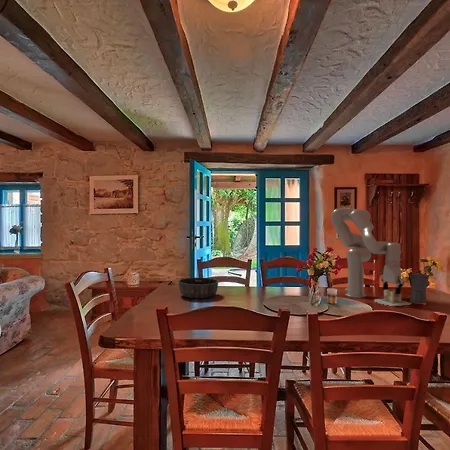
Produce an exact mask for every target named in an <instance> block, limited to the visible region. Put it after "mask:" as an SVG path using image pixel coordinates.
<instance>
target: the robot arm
mask: <svg viewBox="0 0 450 450" xmlns="http://www.w3.org/2000/svg"><path fill="white" fill-rule="evenodd" d="M370 220H371V213H370V212H369V211H368V210H367V209H361V208H360V209H358V208H348V207H347V208H345V207H337V208H335V209H334V210H333V211H332V212H331V214H330V222H331V224H332V227H333V228H334V230H335V232H336V234H337V236H338V237H339V239H340V242H341V243H342V245H343V246H344V247H345V248H349V249H348V251H347V252H346V262H347V287H346V288H345V289H344V290H345V291H346V293H345V294H344V295H345V296H346V297H350V298H355V299H356V298H357V299H361V298H362V299H363V298H366V297H367V295H366V294H365V293H364V272H365V270H364V265H363V262H368V261H369V260H370V259H371V258H372V254H374V255H380V254H381V255H385V261H384V262H385V264H384V266H383V272H382V274H381V275H380V279H381V283H382V286H383V287H382V290H383V291H384V290H389V283H390V284H394V285H395V290H396V294H401V295H402V287H403V286H404V285H405V282H406V281H405V280H404V279H403V278H402V269H401V268H402V267H401V249H402V248H401V243H399V242H389V241H380V240H379V241H377V240H376V238H375V237H374V235H373V233H372V231H373V230H374V229H375V226H374V225H373V222H371V221H370ZM345 221H348V222H352V223H353V225H355V227H356V228H357V229H358V230H359V232H360V233H361V234H359V233H357V232H356V233H353V232H352V230H351V229H350V226H349V225H348V224H347V223H346V222H345Z"/></svg>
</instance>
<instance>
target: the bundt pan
mask: <svg viewBox="0 0 450 450" xmlns="http://www.w3.org/2000/svg"><path fill="white" fill-rule="evenodd" d="M219 283H220V281H219V280H218V279H215V278H210V277H202V276H201V277H200V276H199V277H196V276H195V277H185V278H180V279H178V286H179V292H180V294H181V295H182V296H184V297H186V298H190V299H193V298H195V299H208V298H211V297H214V295H215V294H217V292H218V286H219Z"/></svg>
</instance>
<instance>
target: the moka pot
mask: <svg viewBox="0 0 450 450" xmlns="http://www.w3.org/2000/svg"><path fill="white" fill-rule="evenodd" d="M429 279H430V275H428V274H426V273H422V270H419V269H418V272H413V271H410V272H409V273H408V280H409V286H410V287H411V288H412V289H411V292H410V293H411V294H410V298H409V303H411V302H413V303H427V304H428V301H427V293H426V291H427V288H428V284H429ZM413 303H412V304H413Z"/></svg>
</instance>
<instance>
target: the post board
mask: <svg viewBox="0 0 450 450" xmlns="http://www.w3.org/2000/svg"><path fill="white" fill-rule="evenodd" d="M376 302H377V303H376ZM374 303H376V304H380V305H383V304H384V305H383V306H386V305H389V306H402V305H410V304H412V305H413V303H411V302H410V301H406V300H405V301H404V300H403V299H401V302H390V301H386V300H384V298H375V299H374ZM389 306H388V307H389Z"/></svg>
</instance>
